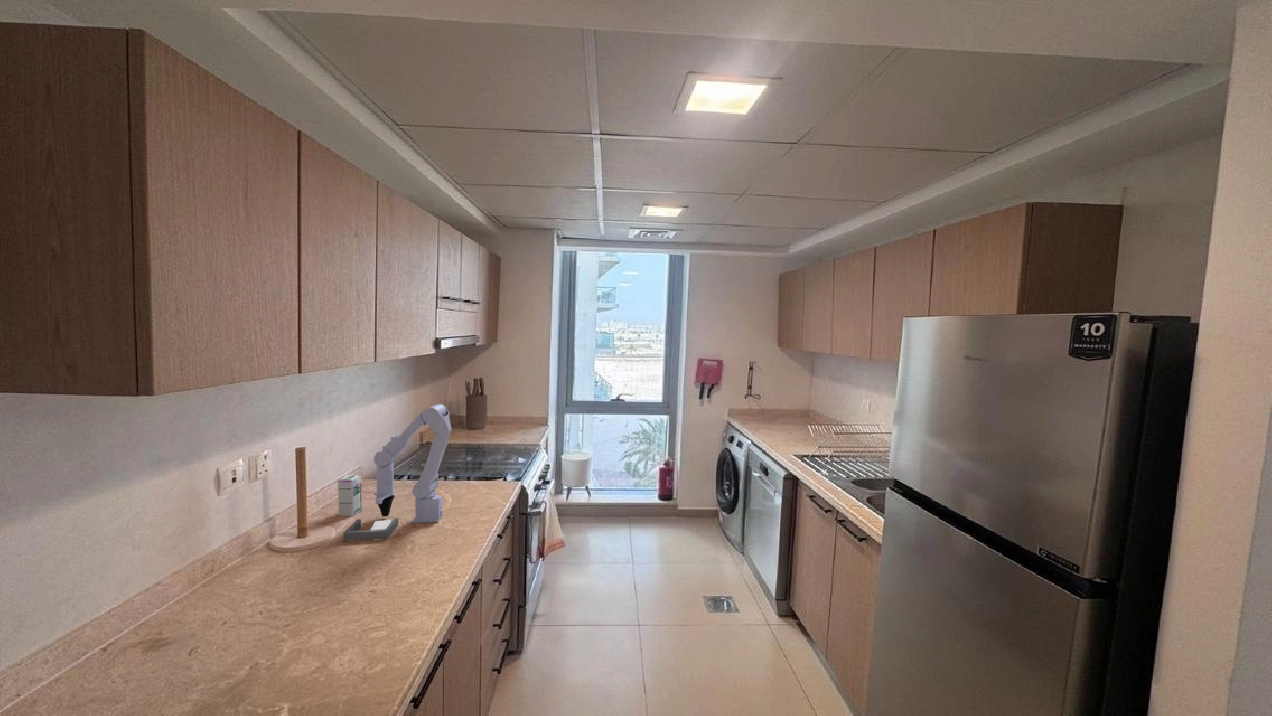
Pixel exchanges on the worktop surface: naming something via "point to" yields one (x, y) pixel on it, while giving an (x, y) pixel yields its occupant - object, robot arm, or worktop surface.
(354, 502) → the syrup box
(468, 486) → the worktop surface
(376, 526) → the soap
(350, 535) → the box
